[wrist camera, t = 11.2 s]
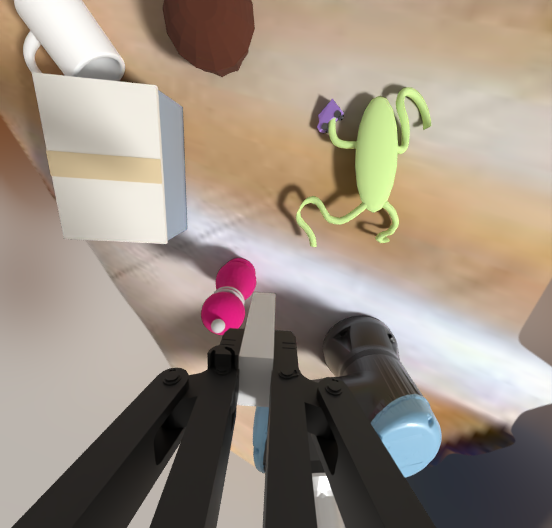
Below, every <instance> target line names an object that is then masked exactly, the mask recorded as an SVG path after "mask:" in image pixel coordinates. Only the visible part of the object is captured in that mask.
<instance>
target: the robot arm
mask: <svg viewBox="0 0 552 528" xmlns="http://www.w3.org/2000/svg"><path fill="white" fill-rule="evenodd" d="M275 297H276V294H274V293H260V292H253V295H252V300H251V304H250V309H249V313H248V318H247V322H246V327H245V329H237V328H229V329H228V330H227V331H226V332H224V334H223V337H222V340H221V343H220V345H218V346H215V347H213V348H212V349H210V350H209V352H208V369H207V370H206V371H204V372H202V373H198V374H193V375H188V373H187V371H186V370H184V369H182V368H170V369H167V370H165V371H163V372H162V373H160V374H159V375H158V376H157V377H156V378H155V379H154V380H153V381H152V382H151V383H150V384H149V385H148V386H147V387H146V388H145V389H144V391H142V392H141V393H140V395H139V396H138V397H137V398H136V399H135V400H134V401H133V402H132V403H131V404H130V405H129V406H128V407H127V408H126V409H125V410H124V411H123V412H122V413H121V415H119V416H118V417H117V418H116V419H115V421H114V422H113V423H112V424H111V425H110V426H109V427H108V428H107V429H106V430H105V431H104V432H103V433H102V434H101V435H100V436H99V437H98V438H97V439H96V440H95V441H94V442H93V443H92V444H91V445H90V446H89V448H88V449H87V450H86V451H85V452H84V453H83V454H82V455H81V456H80V457H79V458H78V459H77V460H76V461H75V462H74V463H73V464H72V465H71V466H70V468H68V469H67V470H66V471H65V473H63V475H62V476H61V477H60V478H59V479H58V480H57V481H56V482H55V483H54V484H53V485H52V486H51V487H50V488H49V489H48V490H47V491H46V492H45V493H44V494H43V495H42V496H41V497H40V498H39V499H38V500H37V502H36V503H35V504H34V505H33V506H32V507H31V508H30V509H29V510H28V511H27V512H26V513H25V514H24V515H23V516H22V517H21V518H20V519H19V520H18V521H17V522H16V523H15V524H14V525H13V527H12V528H127V526H128V525H129V523H130V522H131V520H132V518H133V517H134V515H135V514H136V512H137V510H138V509H139V507H140V506H141V504H142V503H143V501H144V499H145V498H146V496H147V494H148V493H149V492H150V490H151V488H152V487H153V485H154V484H155V482H156V480H157V479H158V477H159V476H160V474H161V473H162V471H163V469H164V468H165V466H166V465H167V463H168V461H169V460H170V458H171V457H172V455H173V453H174V452H175V450H176V449H177V447H178V445H179V444H180V446H179V449H178V451H177V454H176V457H175V459H174V463H173V465H172V468H171V471H170V473H169V476H168V479H167V481H166V484H165V487H164V490H163V492H162V495H161V498H160V500H159V503H158V506H157V509H156V511H155V514H154V517H153V519H152V523H151V525H150V528H216V526H217V521H218V515H219V509H220V504H221V498H222V492H223V486H224V481H225V475H226V470H227V464H228V458H229V453H230V447H231V441H232V436H233V430H234V424H235V419H236V406H237V405H244V406H256V411H255V417H254V427H253V446H254V452H253V456H254V463H255V466H256V468H257V470H258V471H260V472H262V473H265V492H264V512H263V528H436V527H435V525H434V524H433V522H432V521H431V519H430V517H429V516H428V514H427V513H426V511H425V509H424V508H423V506H422V505H421V503H420V501H419V500H418V498H417V496H416V495H415V493H414V492H413V490H412V489H411V487H410V485H409V484H408V482H407V481H406V479H405V477H408V476H411V475H413V474H415V473H417V472H418V471H420V470H422V469H423V468H424V467H426V466H427V465H428V463H429V462H430V461H431V460H433V458H434V457H435V455H436V454H437V452H438V450H439V447H440V444H441V429H440V426H439V423H438V421H437V419H436V417H435V416H434V414H433V412H432V410H431V408H430V405H429V403H428V401H427V400H426V399H425V398H424V397H423V395H422V394H421V392H420V391H419V389H418V388H417V386H416V385H415V383H414V382H413V380H412V379H411V377H410V376H409V374H408V373H407V371H406V370H405V368H404V367H403V365H402V364H401V362H400V359H399V352H398V346H397V342H396V339H395V337H394V335H393V334H392V332H391V331H390V329H389V328H388V327H387V326H386V325H385V324H384V323H383V322H381V321H380V320H378V319H375V318H372V317H368V316H355V317H350V318H347V319H345V320H342V321H341V322H339V323H337V324H336V325H335V326H334V327H332V328H331V330H330V331H329V332H328V334H327V335H326V337H325V340H324V343H323V354H324V358H325V361H326V364H327V366H328V368H329V369H330V371H331V372H332V373H333V374H334V375H335V377H326V378H323V379H315V380H309V379H307V378H306V377H304V376H303V375H302V374H301V372H300V370H299V368H298V357H297V347H296V337H295V336H294V335H293V333H292V332H290V331H275V330H274V328H275ZM180 442H181V443H180Z"/></svg>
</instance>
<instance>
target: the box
mask: <svg viewBox="0 0 552 528" xmlns="http://www.w3.org/2000/svg"><path fill="white" fill-rule="evenodd" d="M158 95H159V111H160V127H161V143H162V159H163V175H164V191H165V207H166V223H167V240H170V239H171V238H173V237H175V236H176V235H178V234H180V233H181V232H183V231H185V230H187V208H186V181H185V154H184V127H183V107H182V106H180V105H179V104H178V103H176V102H175V101H173V100H172V99H170V98H169V97H168V96H166V95H165V94H163V93H162V92H160V91H159V90H158Z"/></svg>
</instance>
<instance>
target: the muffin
mask: <svg viewBox="0 0 552 528" xmlns="http://www.w3.org/2000/svg"><path fill="white" fill-rule="evenodd" d="M163 13H164V18H165V24H166V30H167V34H168V36H169V37H170V39H171V41H172V42H173V44H174V46H175V48H176V49H177V51H178V53H179V54H180V55H181V56H182V57H184V58H185V59H186V60H187V61H189V62H190V63H191V64H193V65H194V66H195V67H196V68H201V69H202V70H204V71H206V72H211V73H214V74H216V75H218V76H221V77H223V76H225V75H227V74H229V73H231V72H235V71H238V70H239V68H240V66H241V63H242V61H243V60H244V58H245V57H246V55H247V54H248V49H249V45H250V42H251V39H252V35H253V32H254V29H255V27H254V16H253V4H252V1H251V0H164V4H163Z"/></svg>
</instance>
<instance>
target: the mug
mask: <svg viewBox="0 0 552 528" xmlns="http://www.w3.org/2000/svg"><path fill="white" fill-rule="evenodd" d="M14 4H15V8H16V10H17V13H18V14H19V16H20V17H21V18H22V20H23V21H24V22H25V24H26V25H27V26H28V28H29V29H30V32H29V33H28V35H27V37H26V39H25V41H24V45H23V55H24V59H25V62H26V64H27V66H28V68H29V70H30V71H31V72H34V73H42V72H41V71H40V70H39V68H38V67H37V65H36V62H35V54H36V51H37V50H38V48H39V47H40V45H42V46H43V47H44V49H45V50H46V51H47V53H48V54H49V55H50V57H51V58H52V59H53V60H54V62H55V63H56V64H57V66H58V67H59V68H60V70H61V71H62V72H63V74H64V75H65V76H72V77H82V78H91V79H101V80H110V81H120V79H121V78H122V76H123V74H124V72H125V63H124V61H123V59H122V57H121V56H120V54H119V53H118V52H117V50H116V49H115V47H114V46H113V44H112V43H111V41H110V40H109V39H108V37H107V36H106V34H105V33H104V31H103V30H102V28H101V27H100V26H99V24H98V23H97V21H96V20H95V18H94V17H93V15H92V14H91V13H90V11H89V10H88V8H87V7H86V5H85V4H84V2H83V1H82V0H14Z"/></svg>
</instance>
